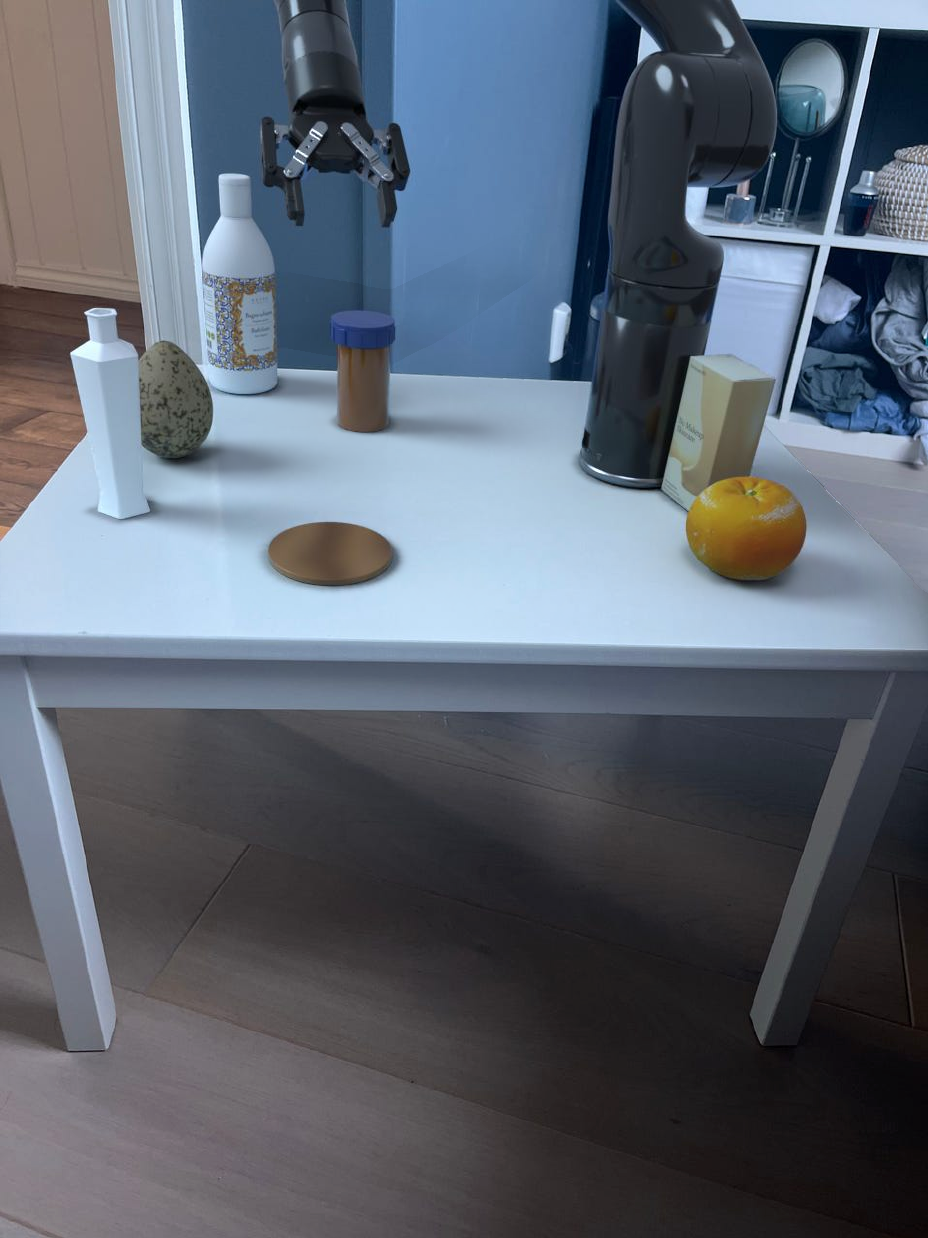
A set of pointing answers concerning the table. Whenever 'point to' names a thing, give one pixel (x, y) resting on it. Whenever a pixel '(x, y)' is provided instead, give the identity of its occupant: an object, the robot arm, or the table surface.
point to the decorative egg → (172, 402)
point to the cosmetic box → (716, 425)
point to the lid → (362, 329)
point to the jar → (363, 388)
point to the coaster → (330, 553)
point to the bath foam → (239, 296)
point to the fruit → (746, 528)
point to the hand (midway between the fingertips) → (344, 221)
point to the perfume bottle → (112, 414)
